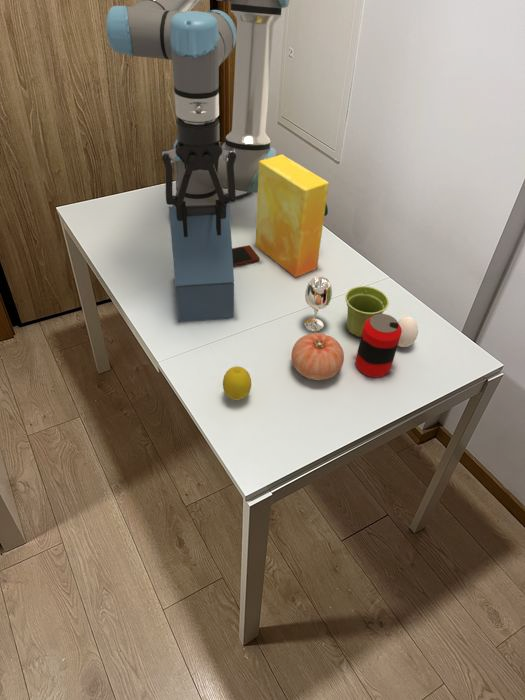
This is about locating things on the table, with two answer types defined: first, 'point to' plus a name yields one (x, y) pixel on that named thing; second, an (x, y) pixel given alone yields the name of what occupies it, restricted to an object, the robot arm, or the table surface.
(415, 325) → the egg
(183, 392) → the table surface
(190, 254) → the lid
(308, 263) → the mottled yellow carton
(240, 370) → the lemon
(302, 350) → the orange pumpkin
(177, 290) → the blue-grey hollow box
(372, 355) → the soda can
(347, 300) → the plant pot
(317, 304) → the wineglass
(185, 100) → the robot arm
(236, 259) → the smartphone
